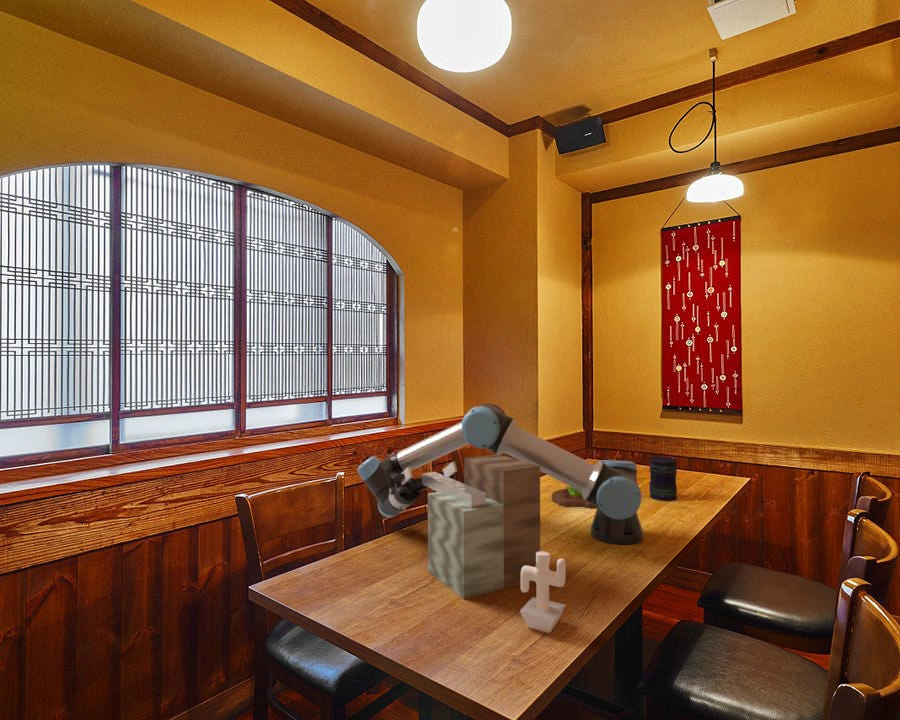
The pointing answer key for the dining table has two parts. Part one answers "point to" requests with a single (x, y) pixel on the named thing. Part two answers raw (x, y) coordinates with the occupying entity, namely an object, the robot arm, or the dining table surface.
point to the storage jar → (663, 478)
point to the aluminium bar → (454, 489)
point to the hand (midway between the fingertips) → (433, 468)
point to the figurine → (542, 593)
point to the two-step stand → (486, 527)
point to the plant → (570, 498)
